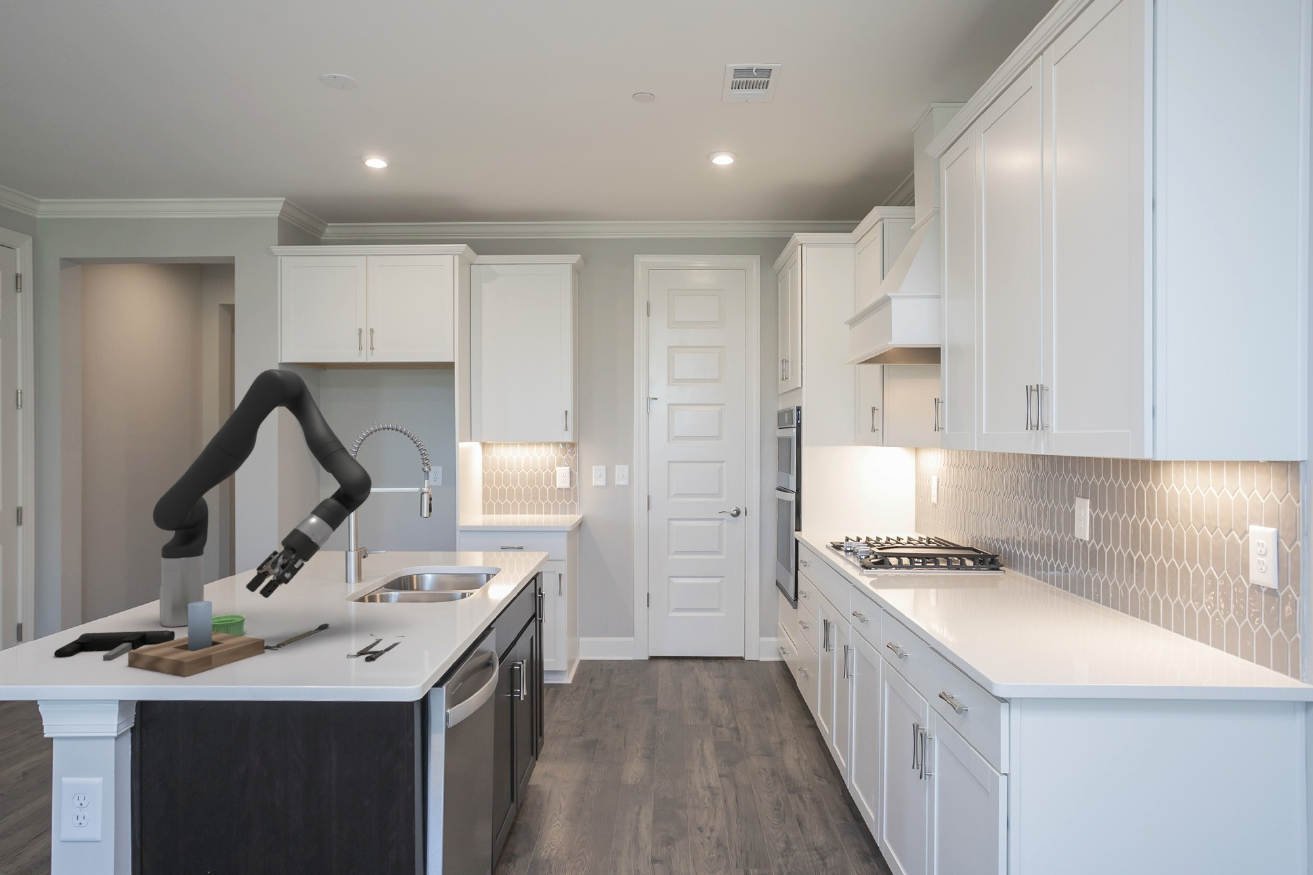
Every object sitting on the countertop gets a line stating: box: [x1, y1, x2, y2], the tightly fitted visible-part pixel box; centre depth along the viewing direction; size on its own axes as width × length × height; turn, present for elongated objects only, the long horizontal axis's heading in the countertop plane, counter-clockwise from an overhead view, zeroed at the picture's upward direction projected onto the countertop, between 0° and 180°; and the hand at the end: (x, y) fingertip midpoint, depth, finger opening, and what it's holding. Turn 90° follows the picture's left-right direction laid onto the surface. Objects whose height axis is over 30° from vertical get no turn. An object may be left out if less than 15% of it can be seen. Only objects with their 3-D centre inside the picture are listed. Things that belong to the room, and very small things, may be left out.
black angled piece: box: [53, 629, 176, 661], centre depth 170 cm, size 3×20×16 cm
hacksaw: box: [346, 633, 405, 662], centre depth 173 cm, size 24×10×2 cm, turn 177°
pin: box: [187, 600, 213, 651], centre depth 163 cm, size 4×4×12 cm
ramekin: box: [212, 614, 246, 636], centre depth 181 cm, size 9×9×4 cm
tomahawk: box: [265, 623, 330, 651], centre depth 180 cm, size 21×7×1 cm, turn 167°
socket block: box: [127, 632, 266, 677], centre depth 163 cm, size 18×18×3 cm
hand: (255, 592), depth 171 cm, fingers open, 8 cm apart
